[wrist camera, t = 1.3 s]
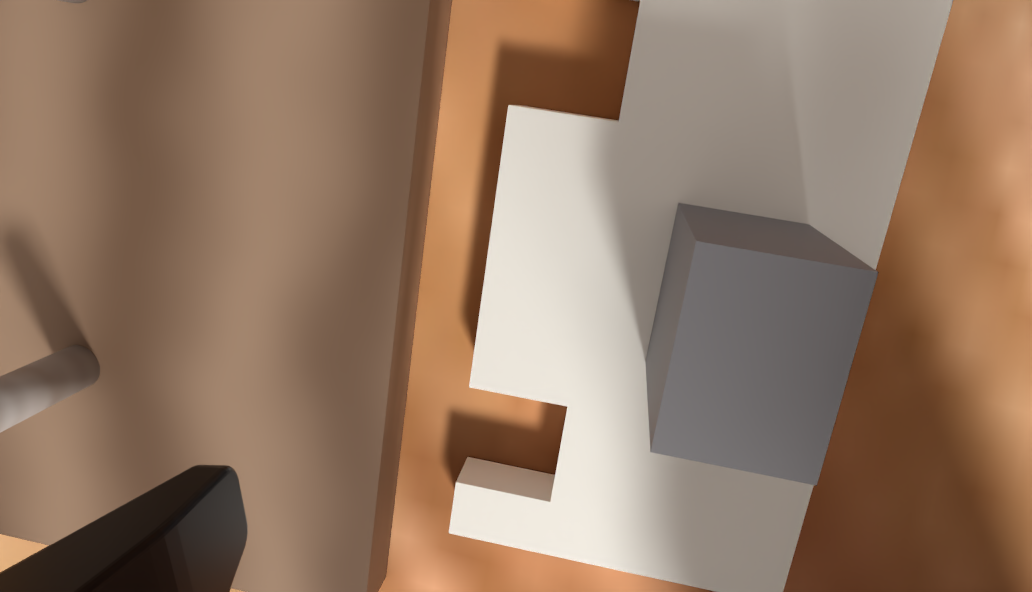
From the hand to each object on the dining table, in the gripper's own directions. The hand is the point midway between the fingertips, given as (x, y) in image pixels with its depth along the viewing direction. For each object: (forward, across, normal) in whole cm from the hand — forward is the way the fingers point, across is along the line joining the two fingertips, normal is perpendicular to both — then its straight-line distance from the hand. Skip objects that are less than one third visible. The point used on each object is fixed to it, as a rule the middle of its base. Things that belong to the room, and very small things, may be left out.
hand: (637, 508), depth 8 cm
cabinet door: (+12, -2, +2) cm, 12 cm away
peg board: (+13, +11, 0) cm, 17 cm away
